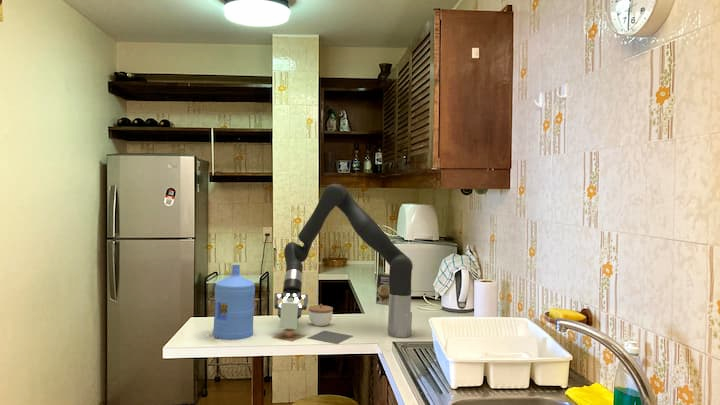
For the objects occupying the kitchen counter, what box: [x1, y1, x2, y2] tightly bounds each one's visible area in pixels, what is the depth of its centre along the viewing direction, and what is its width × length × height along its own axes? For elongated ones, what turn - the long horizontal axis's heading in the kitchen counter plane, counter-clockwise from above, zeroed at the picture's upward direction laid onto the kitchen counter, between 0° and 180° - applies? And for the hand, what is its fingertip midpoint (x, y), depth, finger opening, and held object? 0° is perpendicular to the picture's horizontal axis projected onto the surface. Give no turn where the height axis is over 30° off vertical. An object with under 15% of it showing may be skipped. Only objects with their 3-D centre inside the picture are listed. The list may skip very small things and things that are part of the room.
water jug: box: [212, 264, 256, 340], centre depth 198 cm, size 16×16×28 cm
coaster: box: [271, 332, 306, 342], centre depth 197 cm, size 10×10×1 cm
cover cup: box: [279, 298, 300, 330], centre depth 197 cm, size 7×7×11 cm
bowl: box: [283, 328, 295, 337], centre depth 197 cm, size 4×4×3 cm
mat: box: [306, 330, 354, 345], centre depth 199 cm, size 14×14×1 cm
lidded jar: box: [308, 303, 334, 327], centre depth 219 cm, size 11×11×9 cm
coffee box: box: [375, 272, 389, 306], centre depth 272 cm, size 9×6×16 cm
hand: (289, 317), depth 196 cm, fingers closed on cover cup, 6 cm apart
